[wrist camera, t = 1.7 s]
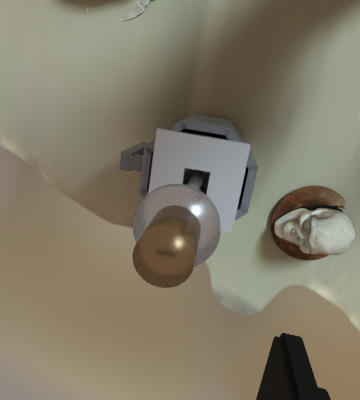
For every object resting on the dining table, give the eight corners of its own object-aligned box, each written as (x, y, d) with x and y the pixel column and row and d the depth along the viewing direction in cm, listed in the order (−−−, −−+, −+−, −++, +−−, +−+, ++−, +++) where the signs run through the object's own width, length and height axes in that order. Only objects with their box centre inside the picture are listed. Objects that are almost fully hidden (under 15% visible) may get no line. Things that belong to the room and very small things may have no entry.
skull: (268, 265, 55) (276, 244, 46) (268, 207, 60) (275, 177, 51) (348, 271, 53) (372, 250, 44) (342, 210, 58) (363, 180, 49)
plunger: (243, 141, 38) (263, 197, 16) (228, 212, 41) (228, 345, 19) (169, 129, 39) (90, 165, 17) (159, 199, 41) (79, 312, 19)
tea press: (252, 122, 50) (266, 134, 32) (237, 197, 54) (241, 246, 36) (154, 106, 52) (114, 109, 34) (145, 180, 55) (104, 219, 37)
